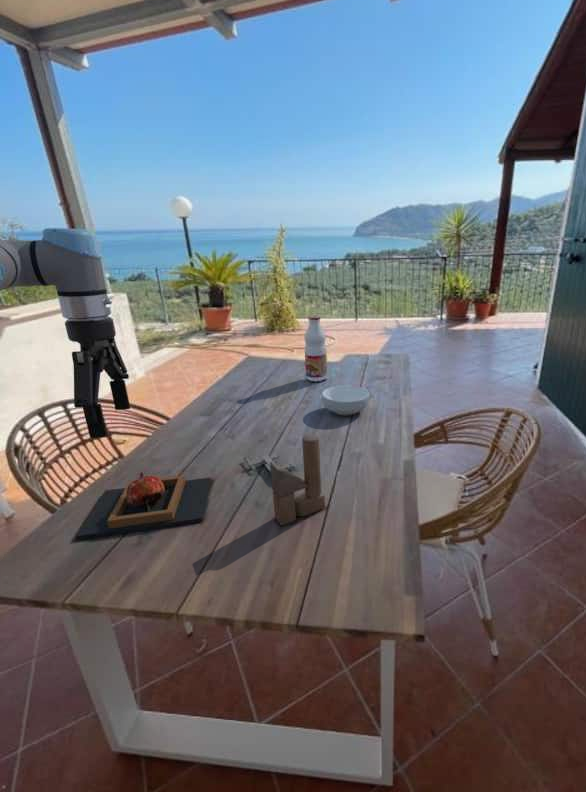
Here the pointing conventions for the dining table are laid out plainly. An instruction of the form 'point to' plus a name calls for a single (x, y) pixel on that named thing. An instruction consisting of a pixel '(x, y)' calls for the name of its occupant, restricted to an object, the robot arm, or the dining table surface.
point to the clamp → (267, 463)
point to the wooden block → (298, 485)
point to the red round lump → (145, 490)
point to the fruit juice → (315, 349)
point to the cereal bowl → (345, 399)
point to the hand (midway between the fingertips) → (112, 422)
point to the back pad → (121, 516)
